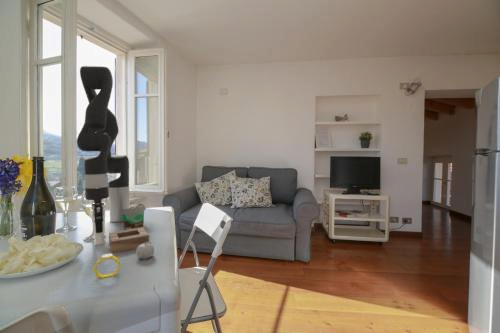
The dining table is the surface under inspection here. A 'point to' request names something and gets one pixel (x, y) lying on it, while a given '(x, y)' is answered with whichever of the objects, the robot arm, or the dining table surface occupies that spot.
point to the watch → (106, 257)
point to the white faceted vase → (98, 236)
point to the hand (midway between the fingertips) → (99, 230)
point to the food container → (133, 217)
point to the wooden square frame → (127, 239)
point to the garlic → (145, 250)
